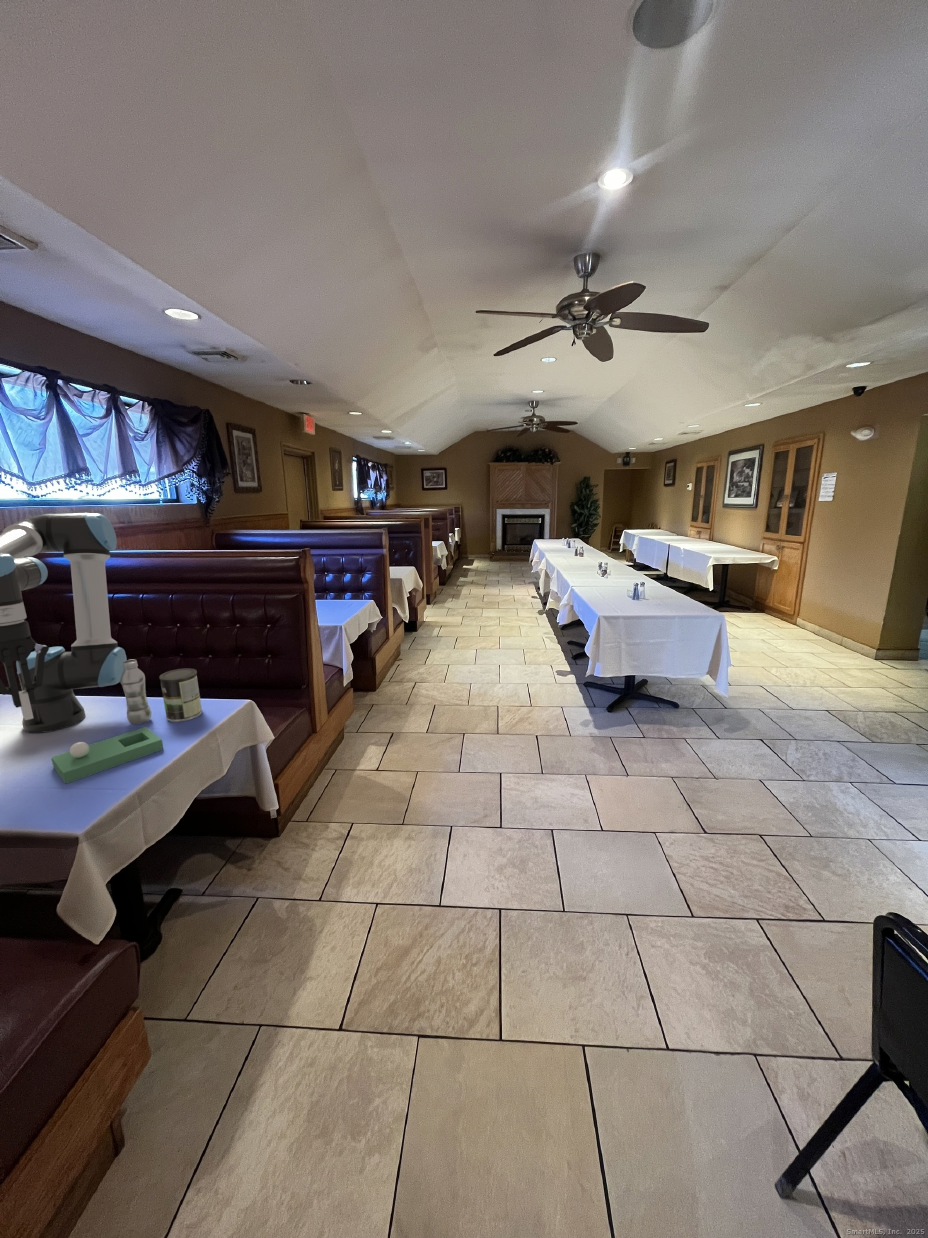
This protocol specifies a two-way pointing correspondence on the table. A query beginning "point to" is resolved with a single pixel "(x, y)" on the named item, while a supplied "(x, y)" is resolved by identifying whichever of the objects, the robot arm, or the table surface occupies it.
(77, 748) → the ball
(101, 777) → the table surface
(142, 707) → the plastic bottle
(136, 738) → the green
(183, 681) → the coffee can
